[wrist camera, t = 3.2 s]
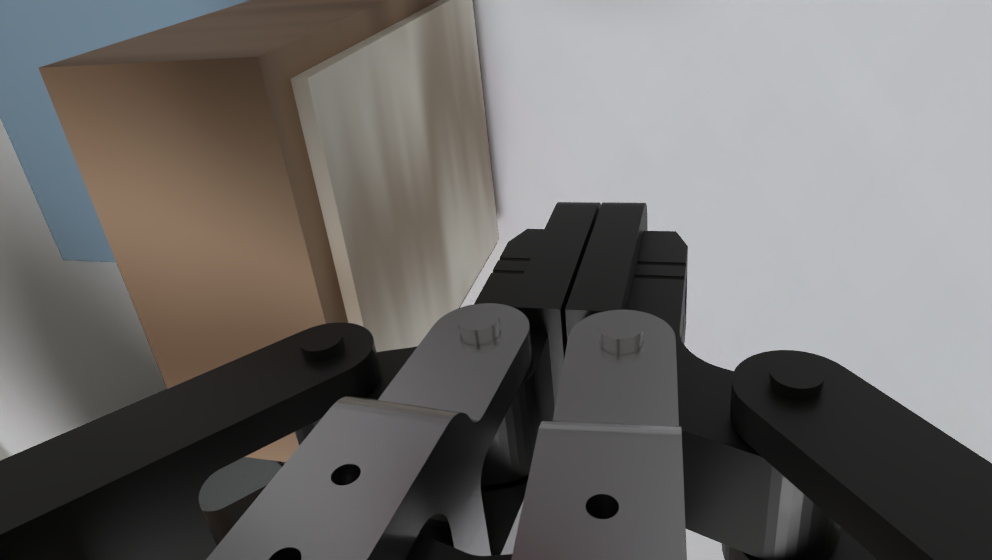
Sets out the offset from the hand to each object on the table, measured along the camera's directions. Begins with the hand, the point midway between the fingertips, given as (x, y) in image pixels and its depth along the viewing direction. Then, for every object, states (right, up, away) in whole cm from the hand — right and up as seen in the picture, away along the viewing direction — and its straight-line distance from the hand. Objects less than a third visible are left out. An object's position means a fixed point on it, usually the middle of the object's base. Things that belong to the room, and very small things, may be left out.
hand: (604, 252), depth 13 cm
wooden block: (-4, +4, +9) cm, 10 cm away
